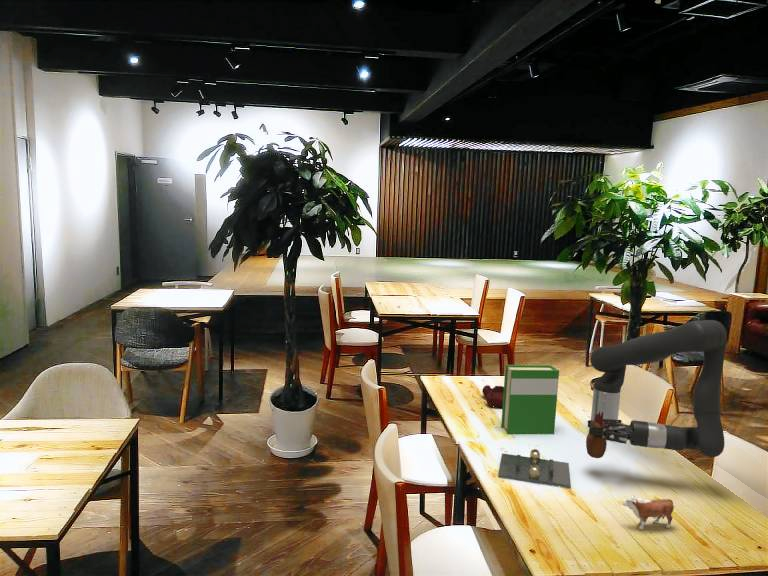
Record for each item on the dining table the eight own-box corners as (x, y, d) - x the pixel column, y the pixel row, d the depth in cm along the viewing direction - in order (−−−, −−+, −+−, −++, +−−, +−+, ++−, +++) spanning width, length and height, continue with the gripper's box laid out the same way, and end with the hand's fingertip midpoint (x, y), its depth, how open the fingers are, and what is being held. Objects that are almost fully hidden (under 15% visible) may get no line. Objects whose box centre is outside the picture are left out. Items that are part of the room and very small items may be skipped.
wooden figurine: (606, 461, 175) (611, 414, 173) (586, 459, 176) (591, 412, 174) (602, 452, 182) (607, 407, 179) (583, 450, 183) (587, 405, 181)
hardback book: (507, 434, 209) (512, 370, 206) (501, 426, 216) (505, 364, 213) (554, 434, 211) (559, 370, 208) (546, 426, 218) (551, 365, 215)
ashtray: (527, 411, 235) (527, 399, 235) (487, 409, 236) (488, 397, 235) (517, 397, 253) (518, 386, 252) (480, 395, 253) (481, 384, 253)
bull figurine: (618, 521, 151) (621, 492, 150) (667, 521, 152) (670, 492, 151) (627, 531, 147) (630, 501, 146) (676, 530, 148) (680, 500, 147)
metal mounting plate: (501, 456, 190) (502, 444, 189) (568, 465, 184) (569, 454, 184) (498, 477, 174) (499, 464, 174) (570, 488, 169) (571, 475, 168)
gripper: (644, 414, 180) (587, 407, 185) (653, 431, 167) (591, 423, 171) (642, 437, 181) (585, 430, 186) (650, 456, 168) (589, 447, 172)
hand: (588, 427), depth 178 cm, fingers closed on wooden figurine, 5 cm apart
